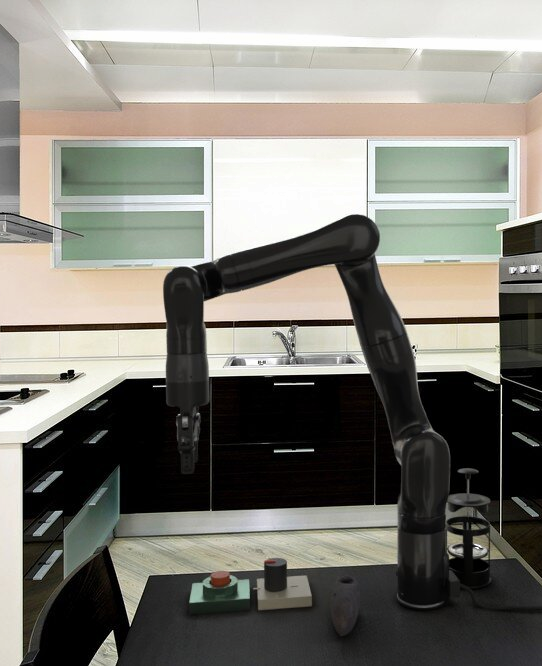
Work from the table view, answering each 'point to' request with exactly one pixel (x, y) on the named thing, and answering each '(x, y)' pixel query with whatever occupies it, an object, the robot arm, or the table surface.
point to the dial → (275, 574)
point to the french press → (469, 539)
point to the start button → (220, 578)
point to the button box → (219, 596)
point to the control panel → (285, 594)
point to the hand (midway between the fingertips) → (189, 467)
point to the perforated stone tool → (345, 602)
